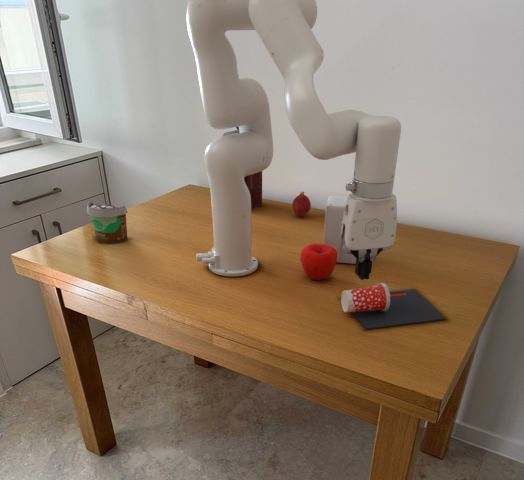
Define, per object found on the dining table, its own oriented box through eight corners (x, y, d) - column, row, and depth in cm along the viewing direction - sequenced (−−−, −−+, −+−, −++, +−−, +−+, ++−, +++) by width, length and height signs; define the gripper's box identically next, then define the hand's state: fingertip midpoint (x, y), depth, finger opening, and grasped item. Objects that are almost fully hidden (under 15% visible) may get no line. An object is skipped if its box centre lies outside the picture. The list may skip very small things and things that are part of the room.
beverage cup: (337, 295, 113) (396, 289, 115) (344, 320, 111) (404, 313, 113) (345, 281, 107) (407, 275, 110) (352, 307, 105) (415, 300, 108)
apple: (309, 288, 122) (311, 257, 117) (293, 273, 128) (294, 244, 124) (342, 281, 125) (345, 251, 120) (324, 267, 131) (326, 238, 127)
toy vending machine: (249, 213, 167) (248, 120, 151) (225, 206, 173) (221, 116, 157) (267, 207, 172) (268, 116, 157) (243, 200, 178) (241, 112, 163)
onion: (310, 220, 161) (312, 194, 157) (292, 219, 162) (293, 194, 157) (309, 213, 166) (310, 189, 162) (291, 213, 166) (292, 189, 162)
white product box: (356, 264, 133) (362, 207, 125) (321, 262, 134) (325, 205, 126) (357, 251, 140) (363, 196, 132) (325, 248, 142) (328, 194, 133)
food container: (82, 241, 146) (75, 206, 141) (96, 234, 151) (90, 200, 146) (119, 247, 143) (113, 212, 137) (131, 239, 147) (126, 205, 142)
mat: (365, 329, 106) (366, 328, 105) (342, 299, 117) (342, 297, 117) (444, 320, 109) (445, 318, 109) (414, 290, 120) (414, 289, 120)
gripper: (341, 196, 92) (334, 288, 102) (418, 191, 95) (403, 281, 105) (328, 185, 98) (322, 273, 108) (400, 180, 101) (388, 266, 111)
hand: (362, 276), depth 107 cm, fingers closed
